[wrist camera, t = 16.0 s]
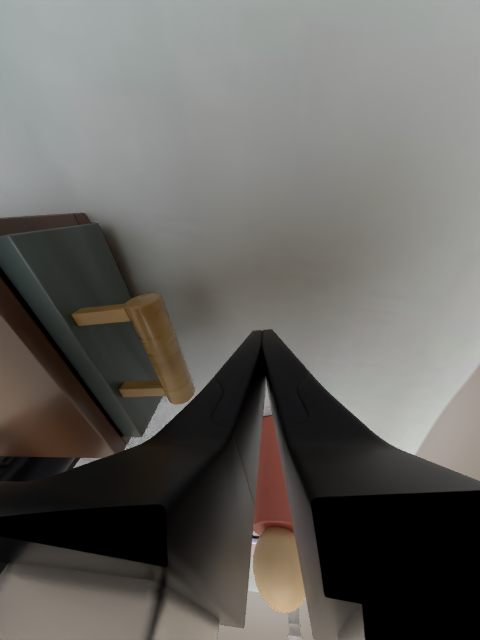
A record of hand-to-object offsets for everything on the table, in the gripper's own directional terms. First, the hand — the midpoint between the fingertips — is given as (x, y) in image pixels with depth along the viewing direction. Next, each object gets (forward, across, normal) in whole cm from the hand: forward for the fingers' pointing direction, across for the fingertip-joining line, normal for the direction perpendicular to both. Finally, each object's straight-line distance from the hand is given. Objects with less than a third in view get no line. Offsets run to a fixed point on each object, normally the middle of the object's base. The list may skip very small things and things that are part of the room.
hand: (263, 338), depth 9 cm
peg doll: (+4, 0, +13) cm, 14 cm away
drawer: (+3, +12, 0) cm, 12 cm away
